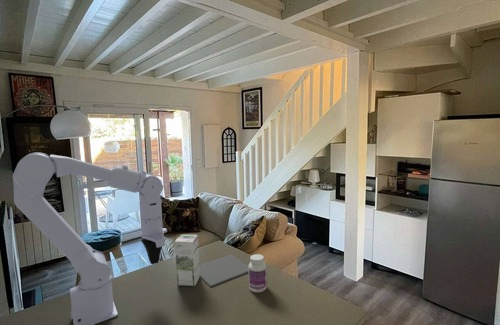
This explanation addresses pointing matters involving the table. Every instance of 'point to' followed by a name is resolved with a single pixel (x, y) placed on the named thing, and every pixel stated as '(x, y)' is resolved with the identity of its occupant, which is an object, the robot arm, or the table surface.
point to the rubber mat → (222, 270)
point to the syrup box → (187, 260)
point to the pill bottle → (257, 273)
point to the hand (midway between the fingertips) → (154, 262)
